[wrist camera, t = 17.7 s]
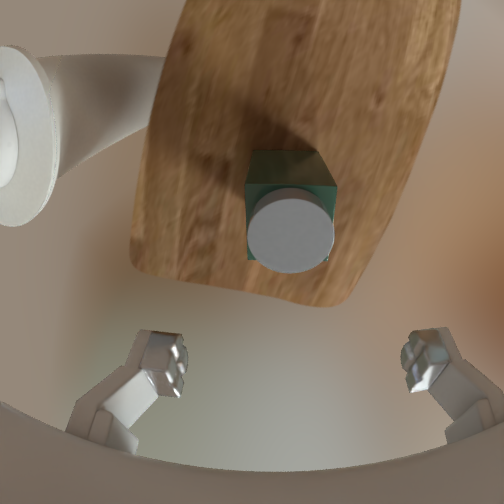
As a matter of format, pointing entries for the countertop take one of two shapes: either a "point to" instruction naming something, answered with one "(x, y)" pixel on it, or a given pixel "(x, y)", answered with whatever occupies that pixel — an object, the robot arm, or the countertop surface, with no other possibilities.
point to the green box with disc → (289, 209)
